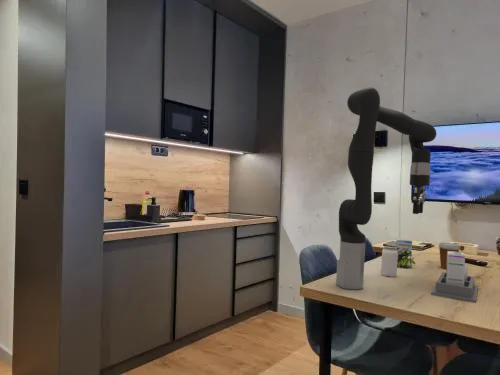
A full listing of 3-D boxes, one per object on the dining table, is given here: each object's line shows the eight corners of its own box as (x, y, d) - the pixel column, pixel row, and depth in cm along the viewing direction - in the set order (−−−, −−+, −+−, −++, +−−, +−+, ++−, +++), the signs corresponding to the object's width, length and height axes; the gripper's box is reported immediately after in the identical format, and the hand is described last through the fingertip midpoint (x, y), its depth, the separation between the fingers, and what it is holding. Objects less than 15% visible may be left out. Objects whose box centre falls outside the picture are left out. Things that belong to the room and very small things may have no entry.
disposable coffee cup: (454, 271, 180) (455, 246, 180) (433, 267, 187) (435, 243, 187) (462, 269, 187) (463, 245, 186) (442, 265, 194) (443, 242, 194)
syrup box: (464, 294, 137) (466, 254, 137) (445, 292, 139) (447, 252, 139) (462, 290, 142) (464, 252, 142) (444, 288, 145) (446, 250, 144)
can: (397, 277, 162) (399, 250, 162) (382, 276, 164) (383, 248, 164) (395, 274, 169) (396, 247, 169) (379, 273, 170) (381, 246, 170)
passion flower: (395, 275, 191) (395, 253, 197) (418, 274, 185) (417, 252, 192) (389, 265, 183) (389, 243, 190) (413, 264, 178) (412, 242, 184)
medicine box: (397, 255, 217) (397, 240, 217) (395, 254, 222) (396, 239, 221) (411, 256, 216) (412, 241, 216) (409, 255, 220) (410, 240, 220)
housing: (475, 302, 131) (477, 268, 131) (431, 294, 139) (432, 262, 138) (477, 288, 151) (479, 258, 151) (439, 281, 159) (440, 253, 159)
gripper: (413, 174, 164) (411, 212, 164) (406, 172, 152) (404, 213, 152) (432, 175, 159) (430, 213, 159) (426, 173, 148) (424, 215, 148)
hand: (417, 213), depth 156 cm, fingers open, 8 cm apart
